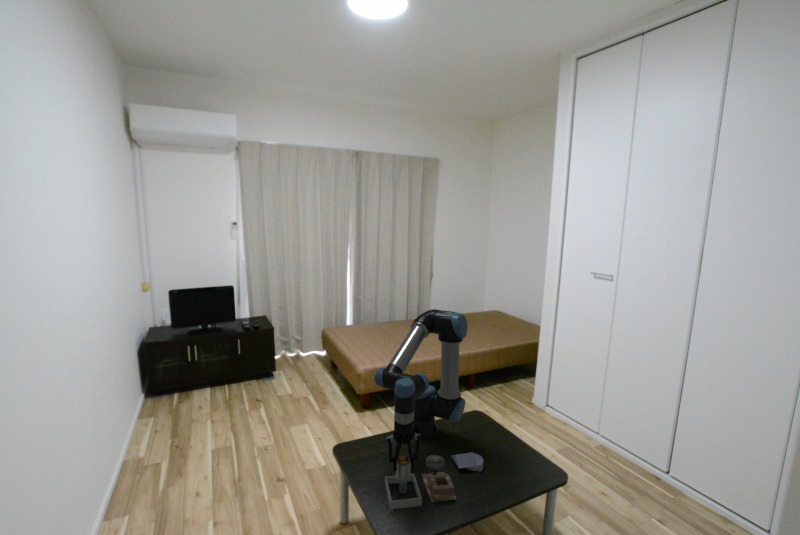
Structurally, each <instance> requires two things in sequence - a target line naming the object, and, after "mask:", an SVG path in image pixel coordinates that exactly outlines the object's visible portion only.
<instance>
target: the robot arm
mask: <svg viewBox="0 0 800 535" xmlns="http://www.w3.org/2000/svg"><path fill="white" fill-rule="evenodd" d="M467 331H468V320H467V318H466V316H465V315H464V314H463V313H461V312H456V311H449V310H441V309H435V308H434V309H429V310H426V311H423V312H422V313H421V314H419V315H418V316H417V317H416V318H415V319H414V320H413V321H412V323H411V324H410V330H409V331H408V333H407V335H406V337H404V339H403V341H402V342H401V344H400V346H399V347H398V349H397V350H396V352H395V353H394V355H393V356H392V358H391V360H389V363H388V364H387V366H386V367H383V368H382V367H379V368H377V370H376V372H375V374H374V383H375V385H376V386H378V387H380V388H383V389H387V390H392V391H393V392H394V417H393V418H394V423H393V433H392V435H387V436H386V442H387V447H388V448H387V450H388V451H387V453H388V454H387V455H388V461H389V464H392V468H393V471H394V472H395V476H396V479H397V480H399V463H398V458H399V457H400V451H401V448H402V445H406V447H407V451H408V452H407V453H408V459H409V462H408V464H407V476H408V479H410V476H411V474H412V472H411V470H413V469H414V463H415V461H418V460H419V454H420V453H419V452H420V441H421V440H428V439H432V438H434V437H436V436H437V434H438V433H439V432H438V431H439V430H438V428H439V427H438V423H437V421H436V418H440V419H442V420H446V421H449V422H452V423H457V422H459V421H460V420H461V418H462V416H463V413H464V411H465V406H466V400H465V398H463V397H462V392H461V391H460V390H459V376H460V375H459V373H460V372H459V370H460V366H459V365H460V344H461V342H463V340H464V339H465V338H466V336H467V333H468V332H467ZM430 334H434V335H438V341H439V342H440V343H441V344H440V345H441V348H440V349H441V351H440V353H441V354H440V388H439V389H438V390H436V388H435V386H433V385H431V384H430V380H429V378H428V377H427V375H426V374H424V373H421V372H420V373H416V374H414V375H412V374H408V373H405V371H406V370H407V368H408V366H409V364H410V362H411V361H412V360H413V358H414V357H415V354H416V353H417V351H418V349H419V348H420V346H421V344H422V343H423V340H424V339H425V338H428V336H429V335H430ZM413 439H414V445H413V446H414V447H413V448H414V449H413V451H412V444H411V441H412V440H413ZM394 440H395V442H396V444H395V448H394V453H393V444H392V443H393V441H394Z"/></svg>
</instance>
